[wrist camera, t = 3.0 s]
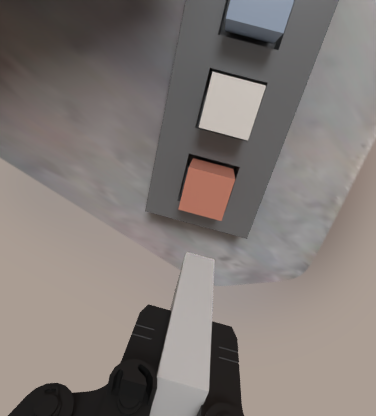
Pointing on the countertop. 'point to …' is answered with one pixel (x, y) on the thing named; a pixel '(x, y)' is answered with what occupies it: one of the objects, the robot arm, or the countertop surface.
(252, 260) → the countertop surface
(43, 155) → the countertop surface
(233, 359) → the robot arm
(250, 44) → the frame
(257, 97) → the key white
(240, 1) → the key blue
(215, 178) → the key red
